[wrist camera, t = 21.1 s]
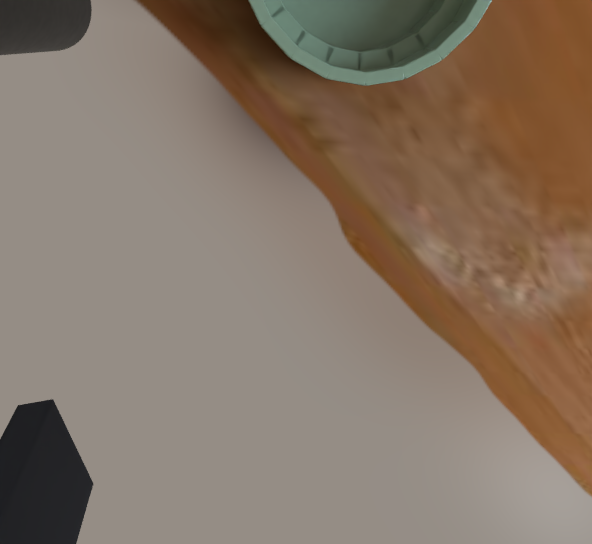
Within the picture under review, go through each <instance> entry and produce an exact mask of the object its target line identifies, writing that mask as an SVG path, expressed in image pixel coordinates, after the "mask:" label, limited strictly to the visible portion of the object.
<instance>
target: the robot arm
mask: <svg viewBox="0 0 592 544" xmlns="http://www.w3.org/2000/svg"><path fill="white" fill-rule="evenodd" d="M92 486H93V482H92V480H91V478H90V476H89V474H88V471H87V469H86V467H85V465H84V463H83V461H82V459H81V457H80V455H79V453H78V451H77V449H76V447H75V444H74V442H73V440H72V438H71V436H70V434H69V432H68V430H67V428H66V426H65V424H64V421H63V419H62V417H61V415H60V414H59V411H58V409H57V407H56V405H55V403H54V401H53V400H46V401H41V402H35V403H29V404H24V405H18V407H17V408H16V410H15V412H14V414H13V416H12V418H11V420H10V422H9V424H8V426H7V428H6V429H5V431H4V433H3V435H2V437H1V439H0V544H76V542H77V539H78V535H79V532H80V528H81V525H82V521H83V518H84V514H85V511H86V507H87V503H88V500H89V496H90V493H91V490H92Z"/></svg>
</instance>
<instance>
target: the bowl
mask: <svg viewBox="0 0 592 544" xmlns="http://www.w3.org/2000/svg"><path fill="white" fill-rule="evenodd" d="M491 1H492V0H248V2H249V4H250V6H251V8H252V10H253V13H254V15H255V17H256V19H257V21H258V23H259V25H260V26H261V28H262V29H263V31H264V32H265V33H266V34H267V35H268V36H269V37H270V38H271V39H272V40H273V42H274V43H275V44H276V45H277V46H278V47H279V48H280V49H281V50H282V51H283V53H284V54H285V55H286V56H288V57H289V58H290V59H292V60H293V61H295V62H297V63H299V64H300V65H302V66H304V67H306V68H308V69H309V70H311V71H313V72H315V73H316V74H318V75H320V76H322V77H323V78H326V79H329V80H335V81H340V82H346V83H351V84H357V85H362V86H364V85H366V86H368V85H374V84H381V83H387V82H393V81H399V80H404V79H407V78H409V77H411V76H413V75H415V74H417V73H419V72H420V71H422V70H424V69H426V68H428V67H430V66H432V65H434V64H436V63H438V62H440V61H441V60H443V59H444V58H445V57H446V56H447V55H448V54H449V53H450V52H451V51H452V50H453V49H454V48H456V47H457V46H458V45H459V44H460V43H461V42H462V41H463V40H464V39H465V38H466V37H467V36H468V35H469V34H470V33H471V32H472V31H473V30H474V29H475V28H476V26H477V24H478V23H479V21H480V19H481V18H482V16H483V14H484V13H485V11H486V9H487V8H488V6H489V4H490V3H491Z"/></svg>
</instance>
